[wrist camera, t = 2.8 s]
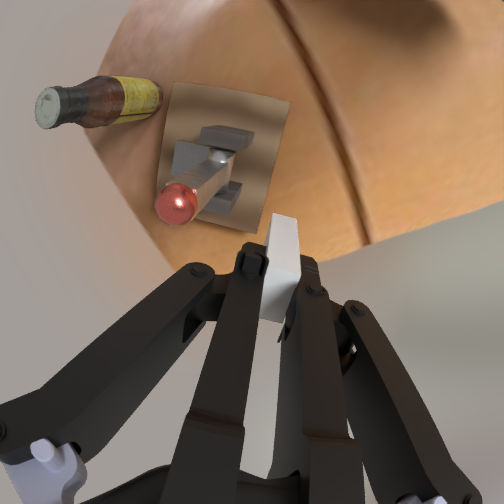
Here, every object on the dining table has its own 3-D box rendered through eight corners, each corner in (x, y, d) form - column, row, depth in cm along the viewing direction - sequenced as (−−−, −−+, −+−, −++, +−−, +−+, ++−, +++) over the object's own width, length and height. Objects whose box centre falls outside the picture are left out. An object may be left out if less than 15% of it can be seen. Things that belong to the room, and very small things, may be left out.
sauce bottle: (148, 71, 32) (52, 56, 15) (173, 98, 34) (82, 94, 16) (119, 103, 35) (20, 112, 17) (143, 129, 36) (47, 151, 19)
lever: (182, 137, 30) (97, 163, 15) (240, 148, 30) (195, 181, 15) (176, 173, 32) (96, 224, 18) (232, 185, 32) (185, 248, 18)
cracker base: (182, 84, 33) (144, 75, 23) (290, 103, 33) (292, 97, 23) (163, 201, 41) (126, 230, 31) (258, 224, 41) (248, 263, 31)
